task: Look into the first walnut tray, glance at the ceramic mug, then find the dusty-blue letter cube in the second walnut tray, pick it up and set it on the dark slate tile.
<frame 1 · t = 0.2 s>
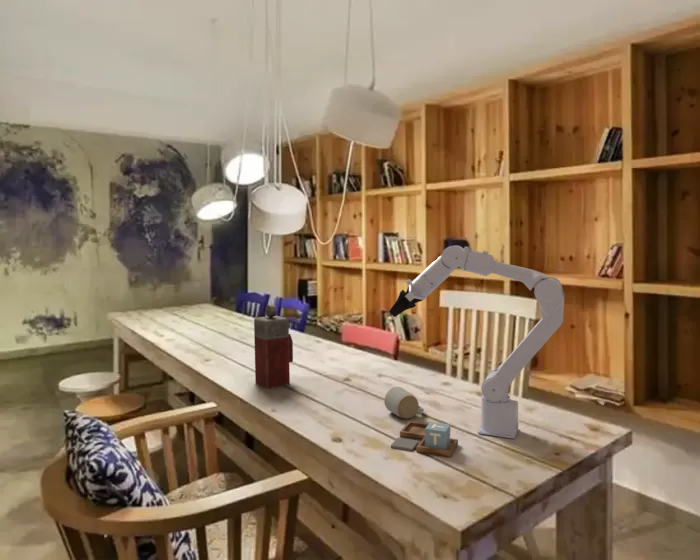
hand: (395, 311, 150), 31 cm above the table, tool tilted 45°, fingers open, 7 cm apart
slate tile: (404, 445, 134), on the table
ceramic mug: (405, 415, 156), on the table
tray a: (419, 433, 141), on the table
tray b: (437, 448, 131), on the table
dark red tall piece: (275, 383, 188), on the table
letter cube: (437, 446, 131), resting on tray b
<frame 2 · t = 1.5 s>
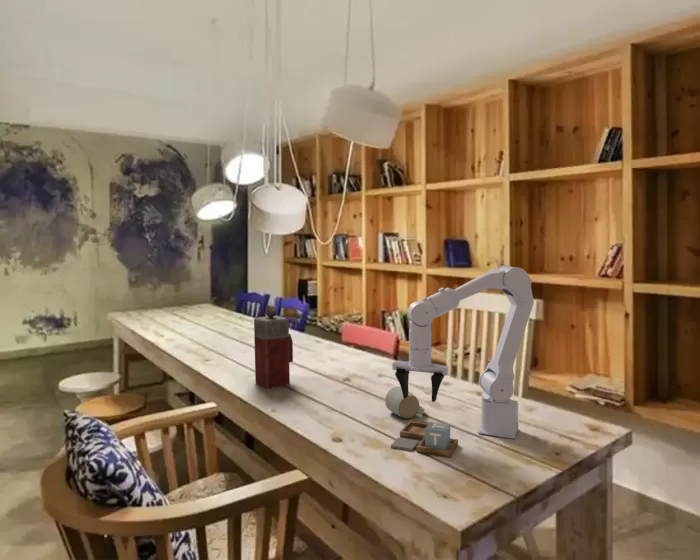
hand: (419, 398, 140), 9 cm above the table, tool pointing down, fingers open, 7 cm apart
nothing on the table moved.
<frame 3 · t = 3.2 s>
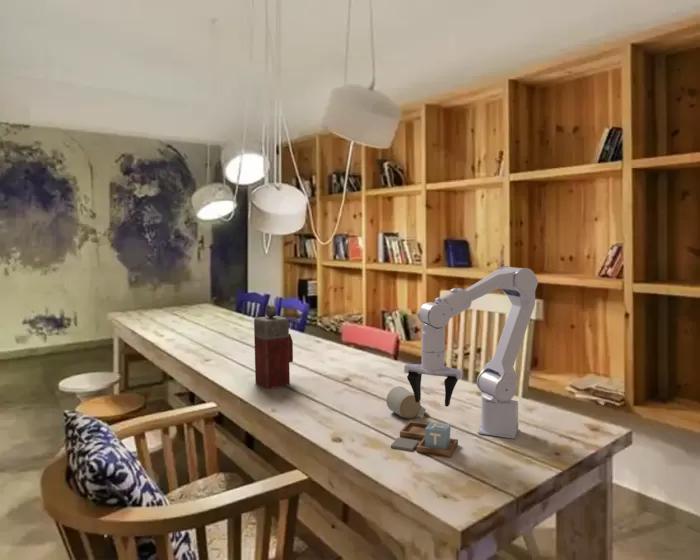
hand: (432, 403, 136), 10 cm above the table, tool pointing down, fingers open, 7 cm apart
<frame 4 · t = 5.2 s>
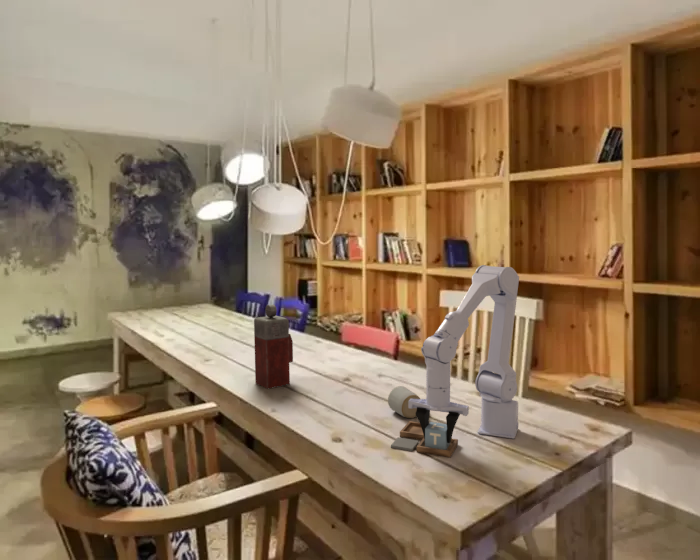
hand: (437, 439, 131), 2 cm above the table, tool pointing down, fingers closed on letter cube, 5 cm apart
letter cube: (437, 446, 131), resting on tray b, touching gripper
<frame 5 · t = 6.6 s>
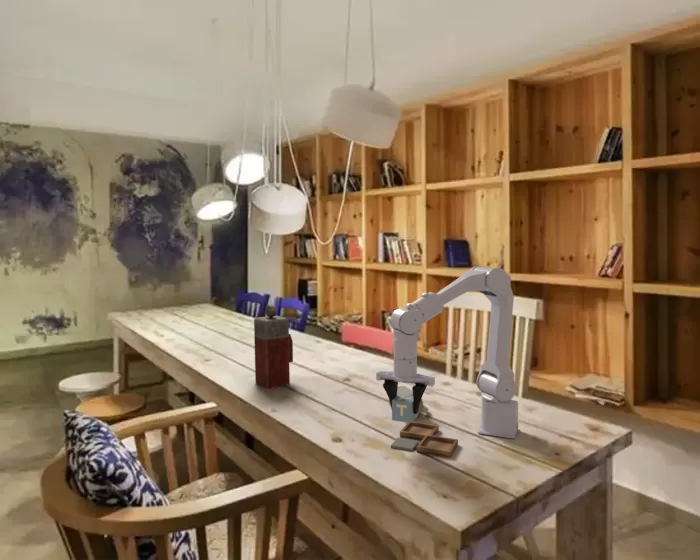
hand: (405, 411, 133), 9 cm above the table, tool pointing down, fingers closed on letter cube, 5 cm apart
letter cube: (404, 418, 133), point 7 cm above the table, touching gripper
when the fingers open (3 cm above the table, at t = 7.9 s): letter cube stays where it is, resting on slate tile.
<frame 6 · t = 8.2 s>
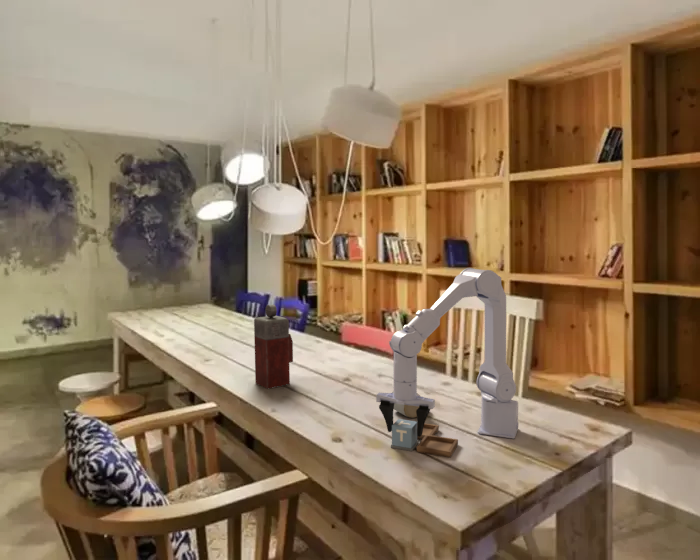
hand: (404, 432, 133), 3 cm above the table, tool pointing down, fingers open, 7 cm apart
letter cube: (404, 443, 133), point 1 cm above the table, touching slate tile
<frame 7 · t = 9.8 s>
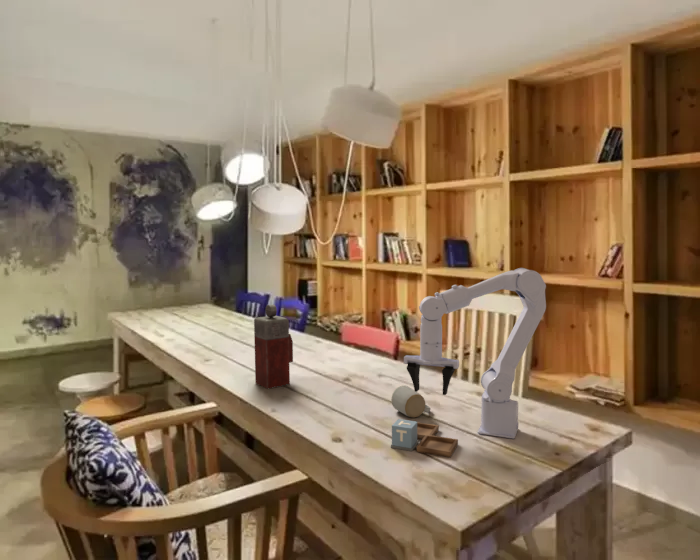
hand: (430, 392, 142), 10 cm above the table, tool pointing down, fingers open, 7 cm apart
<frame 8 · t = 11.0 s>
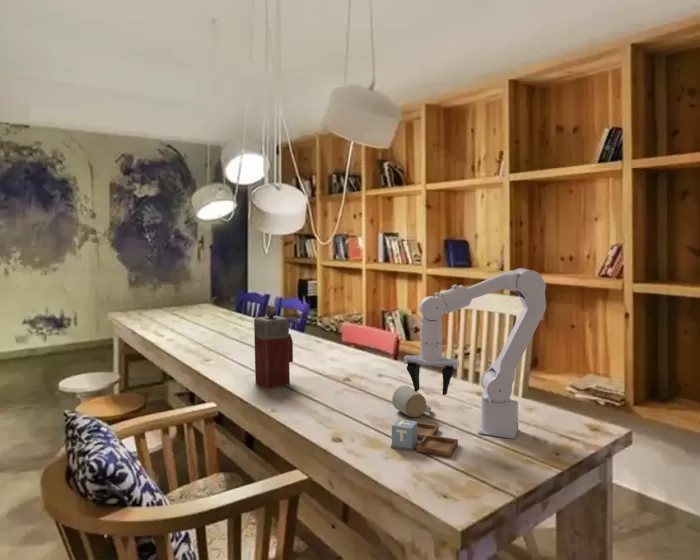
hand: (430, 392, 142), 10 cm above the table, tool pointing down, fingers open, 7 cm apart
at the end: letter cube 0.1 cm off-centre on the slate tile, point 0.6 cm above the slate tile's base; letter cube tilted 0°; the gripper is holding nothing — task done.
